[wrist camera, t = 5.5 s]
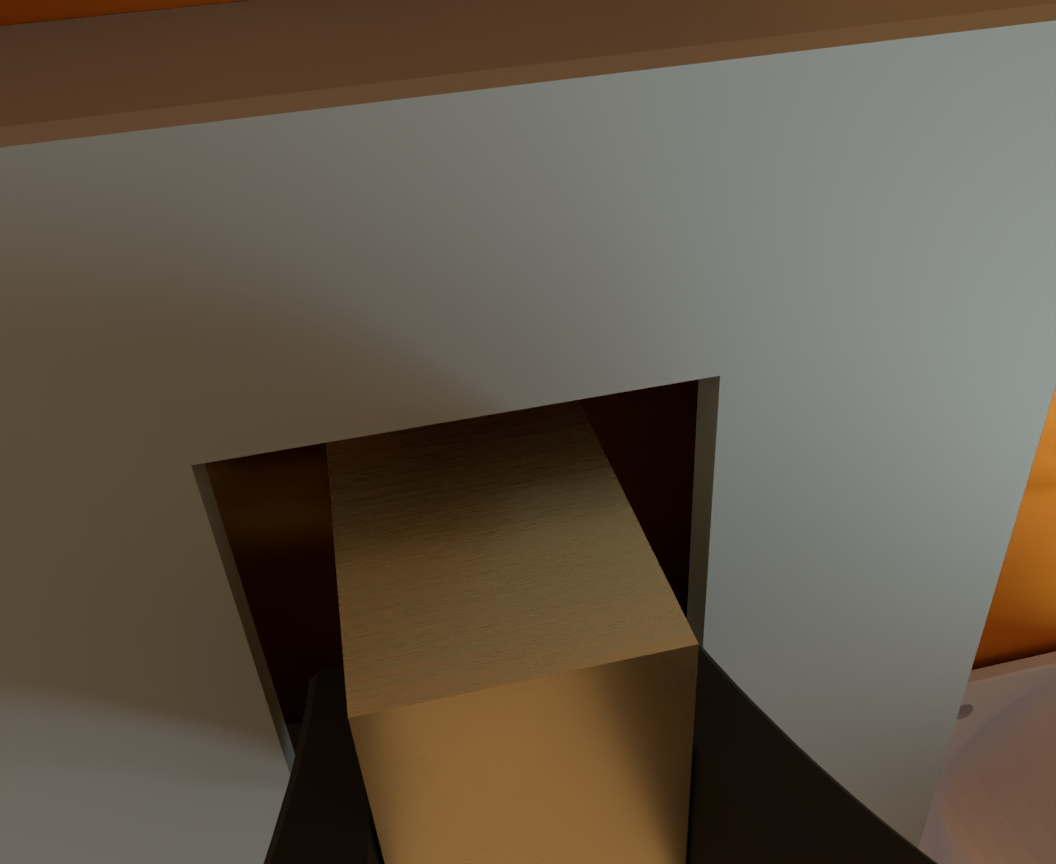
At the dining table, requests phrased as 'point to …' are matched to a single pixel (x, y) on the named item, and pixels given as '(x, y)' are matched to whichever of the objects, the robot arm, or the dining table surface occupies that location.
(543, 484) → the wooden block
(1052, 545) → the dining table surface
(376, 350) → the money box
